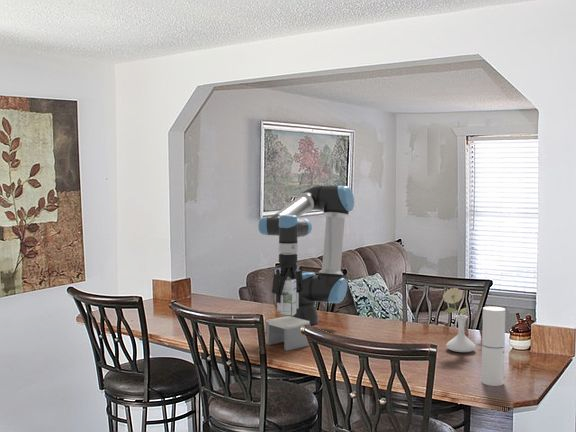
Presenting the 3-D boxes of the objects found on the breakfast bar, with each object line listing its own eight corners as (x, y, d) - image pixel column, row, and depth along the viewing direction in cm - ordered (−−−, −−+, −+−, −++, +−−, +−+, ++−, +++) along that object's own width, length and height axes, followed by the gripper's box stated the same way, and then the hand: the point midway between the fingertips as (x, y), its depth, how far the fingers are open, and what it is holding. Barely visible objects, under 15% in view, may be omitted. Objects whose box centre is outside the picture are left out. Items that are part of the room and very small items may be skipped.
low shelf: (266, 344, 271) (266, 319, 271) (288, 339, 279) (288, 315, 278) (287, 350, 262) (287, 325, 261) (309, 345, 269) (309, 321, 269)
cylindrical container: (476, 381, 224) (478, 307, 222) (491, 377, 227) (493, 305, 226) (493, 387, 217) (495, 311, 216) (508, 383, 221) (510, 309, 220)
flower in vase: (476, 348, 266) (477, 286, 264) (475, 355, 255) (477, 291, 253) (442, 345, 269) (443, 284, 268) (440, 353, 259) (441, 289, 257)
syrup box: (296, 313, 271) (296, 278, 271) (292, 316, 266) (292, 280, 265) (283, 312, 273) (283, 277, 272) (278, 315, 268) (278, 279, 267)
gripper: (274, 256, 258) (274, 314, 260) (313, 252, 272) (312, 307, 273) (262, 254, 264) (262, 311, 266) (300, 250, 277) (300, 304, 279)
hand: (287, 309), depth 269 cm, fingers closed on syrup box, 7 cm apart
